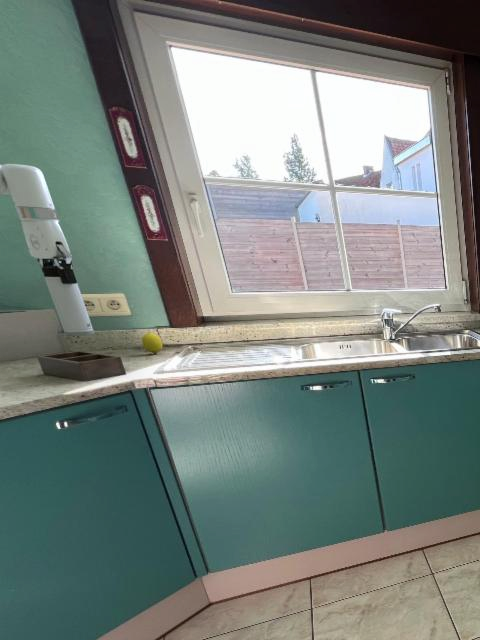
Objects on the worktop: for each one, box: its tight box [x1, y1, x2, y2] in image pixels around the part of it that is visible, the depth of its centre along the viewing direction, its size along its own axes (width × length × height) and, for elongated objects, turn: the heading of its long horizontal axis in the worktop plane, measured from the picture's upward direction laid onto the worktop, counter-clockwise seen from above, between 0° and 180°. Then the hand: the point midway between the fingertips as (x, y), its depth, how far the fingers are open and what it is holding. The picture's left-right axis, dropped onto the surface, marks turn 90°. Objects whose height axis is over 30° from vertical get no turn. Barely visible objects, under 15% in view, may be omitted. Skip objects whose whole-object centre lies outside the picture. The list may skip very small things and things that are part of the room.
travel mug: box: [41, 264, 95, 337], centre depth 145 cm, size 6×7×20 cm
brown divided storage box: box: [36, 350, 127, 382], centre depth 153 cm, size 11×20×6 cm, turn 71°
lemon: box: [141, 332, 163, 355], centre depth 183 cm, size 6×6×8 cm
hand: (62, 282), depth 143 cm, fingers closed on travel mug, 6 cm apart
